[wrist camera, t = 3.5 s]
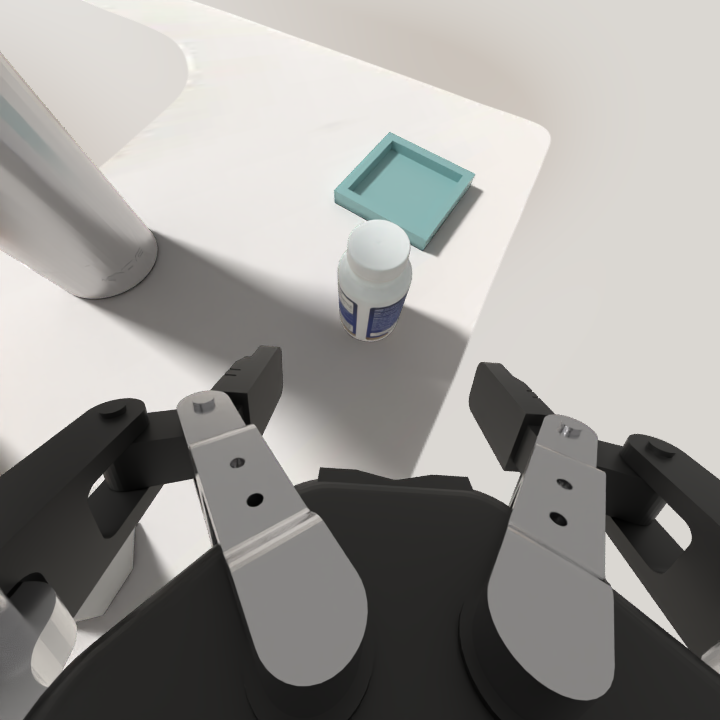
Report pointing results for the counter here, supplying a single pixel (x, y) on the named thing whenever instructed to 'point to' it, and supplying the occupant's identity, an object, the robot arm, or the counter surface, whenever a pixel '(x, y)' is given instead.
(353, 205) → the tray
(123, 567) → the flask
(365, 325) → the pill bottle
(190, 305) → the counter surface
